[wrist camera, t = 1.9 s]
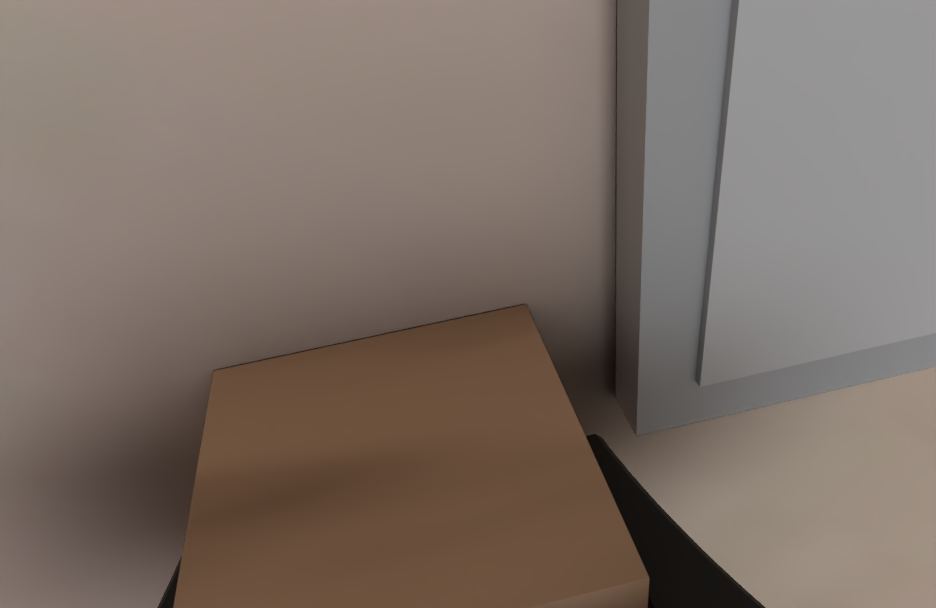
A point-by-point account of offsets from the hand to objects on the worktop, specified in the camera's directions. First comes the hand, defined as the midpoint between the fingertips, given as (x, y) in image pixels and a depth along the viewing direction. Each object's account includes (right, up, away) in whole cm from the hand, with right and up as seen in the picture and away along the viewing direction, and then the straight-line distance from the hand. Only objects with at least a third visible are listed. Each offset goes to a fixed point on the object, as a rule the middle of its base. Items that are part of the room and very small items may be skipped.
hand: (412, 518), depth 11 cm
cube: (0, +1, +1) cm, 2 cm away
